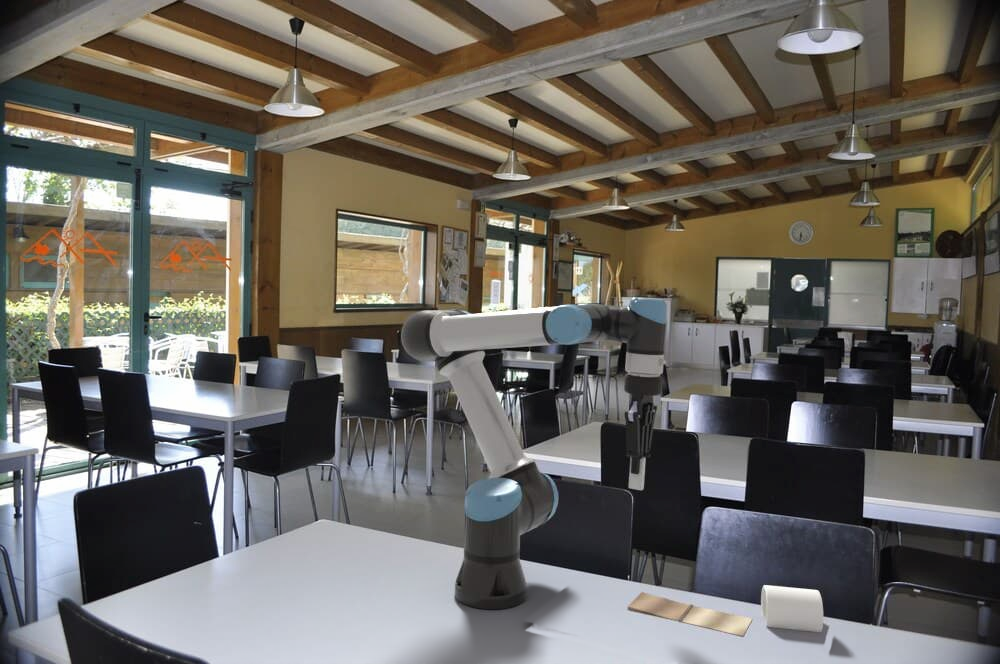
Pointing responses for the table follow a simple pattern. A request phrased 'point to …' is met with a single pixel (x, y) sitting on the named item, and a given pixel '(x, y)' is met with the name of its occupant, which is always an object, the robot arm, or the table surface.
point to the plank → (658, 606)
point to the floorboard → (715, 620)
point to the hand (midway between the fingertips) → (636, 488)
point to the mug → (792, 608)
